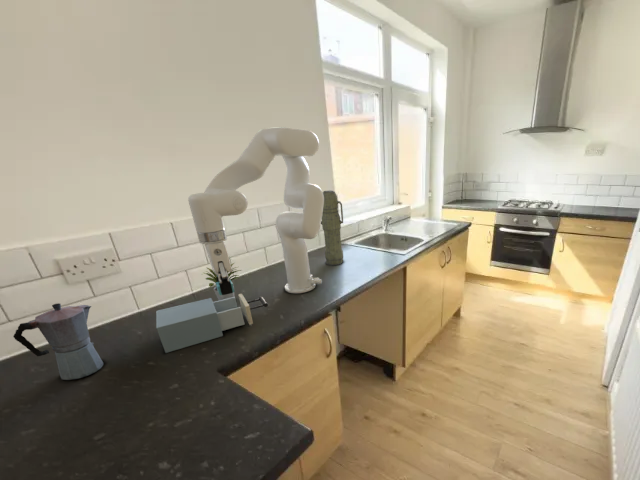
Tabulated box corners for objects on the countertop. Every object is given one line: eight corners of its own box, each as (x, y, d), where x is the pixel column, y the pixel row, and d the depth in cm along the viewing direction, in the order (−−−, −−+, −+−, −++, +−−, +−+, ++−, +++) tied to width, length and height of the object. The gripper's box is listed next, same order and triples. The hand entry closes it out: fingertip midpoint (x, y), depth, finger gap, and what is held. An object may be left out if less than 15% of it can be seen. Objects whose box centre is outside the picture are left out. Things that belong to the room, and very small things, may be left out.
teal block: (232, 287, 106) (230, 279, 104) (234, 292, 102) (232, 283, 101) (217, 290, 103) (215, 282, 102) (219, 295, 100) (217, 286, 99)
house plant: (230, 314, 114) (219, 271, 107) (197, 310, 117) (185, 269, 110) (253, 296, 127) (245, 258, 120) (223, 294, 130) (213, 256, 123)
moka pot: (123, 358, 91) (95, 295, 83) (59, 394, 78) (18, 325, 70) (101, 352, 94) (72, 291, 86) (35, 386, 81) (-6, 318, 73)
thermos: (323, 260, 165) (315, 190, 151) (346, 258, 166) (340, 189, 152) (322, 266, 157) (314, 193, 143) (346, 264, 158) (341, 192, 144)
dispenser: (217, 319, 111) (211, 297, 107) (223, 336, 101) (216, 312, 97) (164, 334, 103) (156, 310, 99) (165, 353, 93) (156, 328, 90)
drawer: (263, 305, 117) (259, 289, 115) (272, 318, 109) (268, 300, 106) (200, 322, 107) (195, 304, 104) (204, 337, 99) (199, 318, 96)
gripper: (230, 239, 91) (243, 297, 98) (221, 228, 104) (233, 280, 111) (201, 244, 87) (217, 303, 95) (195, 232, 100) (209, 285, 107)
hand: (225, 290), depth 103 cm, fingers closed on teal block, 4 cm apart
